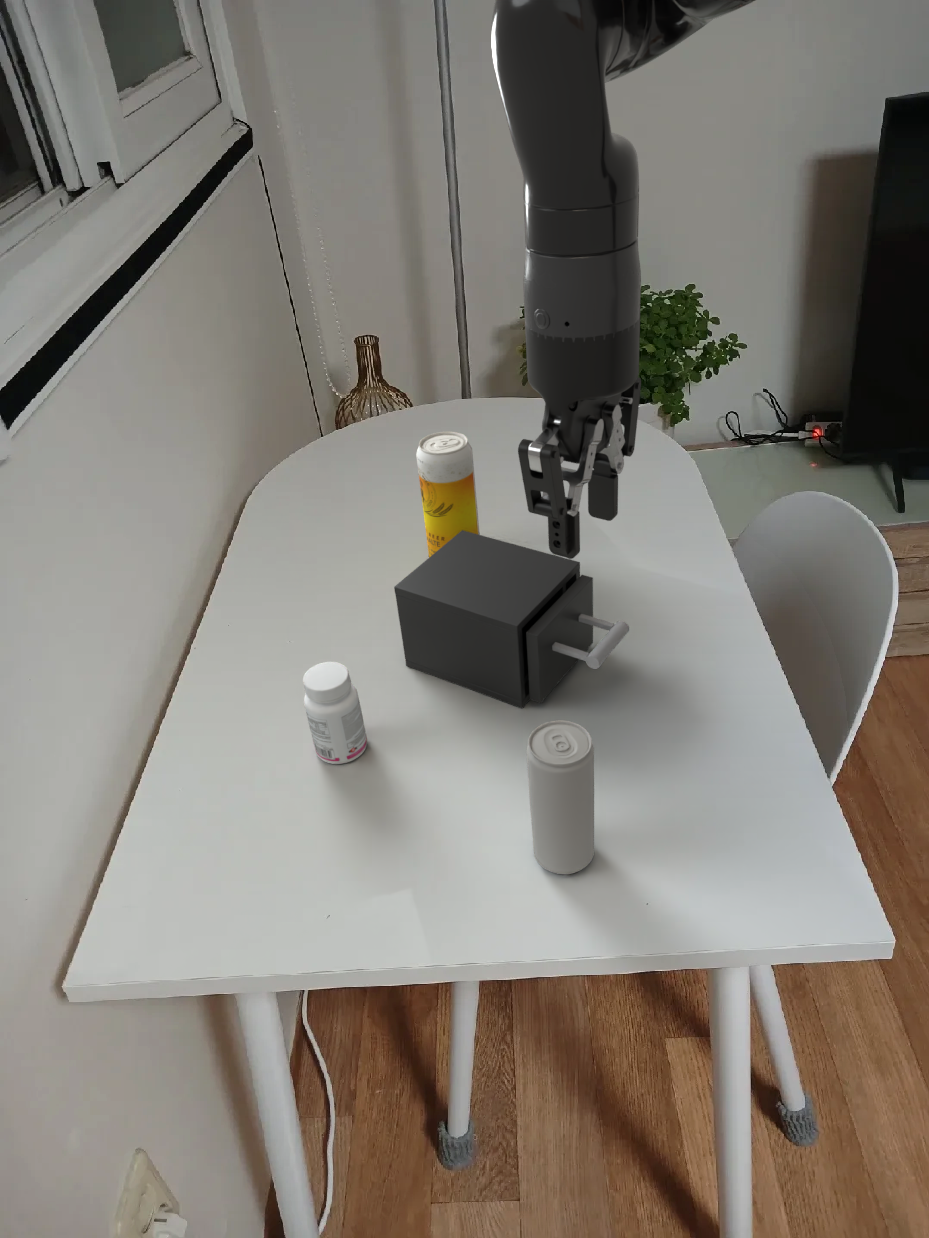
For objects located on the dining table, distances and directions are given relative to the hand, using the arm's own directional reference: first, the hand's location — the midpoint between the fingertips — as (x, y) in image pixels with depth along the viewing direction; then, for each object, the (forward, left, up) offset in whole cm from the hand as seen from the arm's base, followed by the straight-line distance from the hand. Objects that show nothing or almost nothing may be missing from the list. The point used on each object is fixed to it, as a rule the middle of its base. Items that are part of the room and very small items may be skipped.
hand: (584, 534), depth 72 cm
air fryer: (+13, -9, -21) cm, 27 cm away
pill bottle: (+21, +8, -22) cm, 31 cm away
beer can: (+24, -24, -22) cm, 40 cm away
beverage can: (-2, +13, -22) cm, 25 cm away
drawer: (+8, -8, -21) cm, 24 cm away
